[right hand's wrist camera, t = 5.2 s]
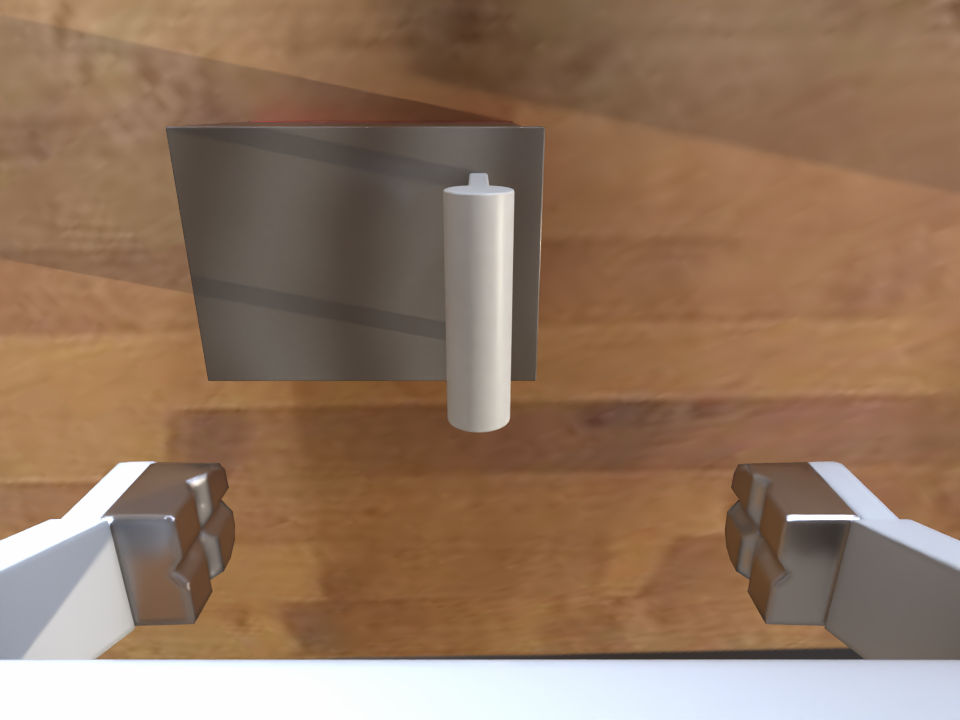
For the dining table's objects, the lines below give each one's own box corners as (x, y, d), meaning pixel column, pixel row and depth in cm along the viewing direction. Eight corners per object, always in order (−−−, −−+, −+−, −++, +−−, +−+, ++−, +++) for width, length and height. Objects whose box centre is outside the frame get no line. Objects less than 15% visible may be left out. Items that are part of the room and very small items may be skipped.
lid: (542, 126, 25) (573, 134, 17) (534, 371, 29) (556, 474, 21) (177, 126, 25) (33, 134, 17) (217, 371, 29) (114, 475, 21)
